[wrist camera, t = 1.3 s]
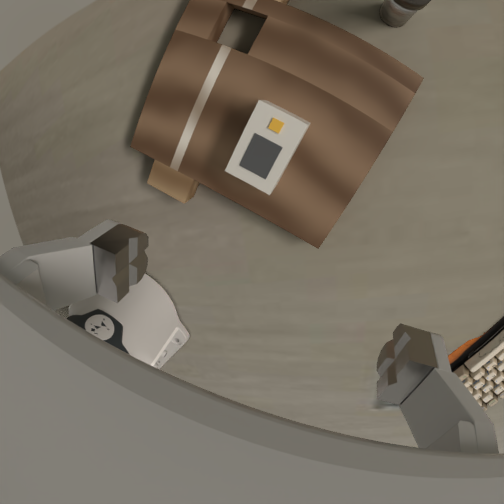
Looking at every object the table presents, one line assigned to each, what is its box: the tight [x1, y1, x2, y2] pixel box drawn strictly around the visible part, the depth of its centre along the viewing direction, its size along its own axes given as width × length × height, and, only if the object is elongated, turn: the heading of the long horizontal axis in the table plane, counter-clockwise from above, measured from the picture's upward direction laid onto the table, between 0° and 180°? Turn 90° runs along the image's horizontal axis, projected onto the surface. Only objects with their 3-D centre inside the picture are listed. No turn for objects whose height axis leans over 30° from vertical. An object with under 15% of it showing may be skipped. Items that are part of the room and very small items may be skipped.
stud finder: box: [225, 100, 310, 195], centre depth 26 cm, size 7×4×3 cm, turn 154°
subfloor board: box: [130, 0, 424, 248], centre depth 27 cm, size 26×23×2 cm
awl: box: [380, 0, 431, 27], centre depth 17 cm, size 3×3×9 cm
